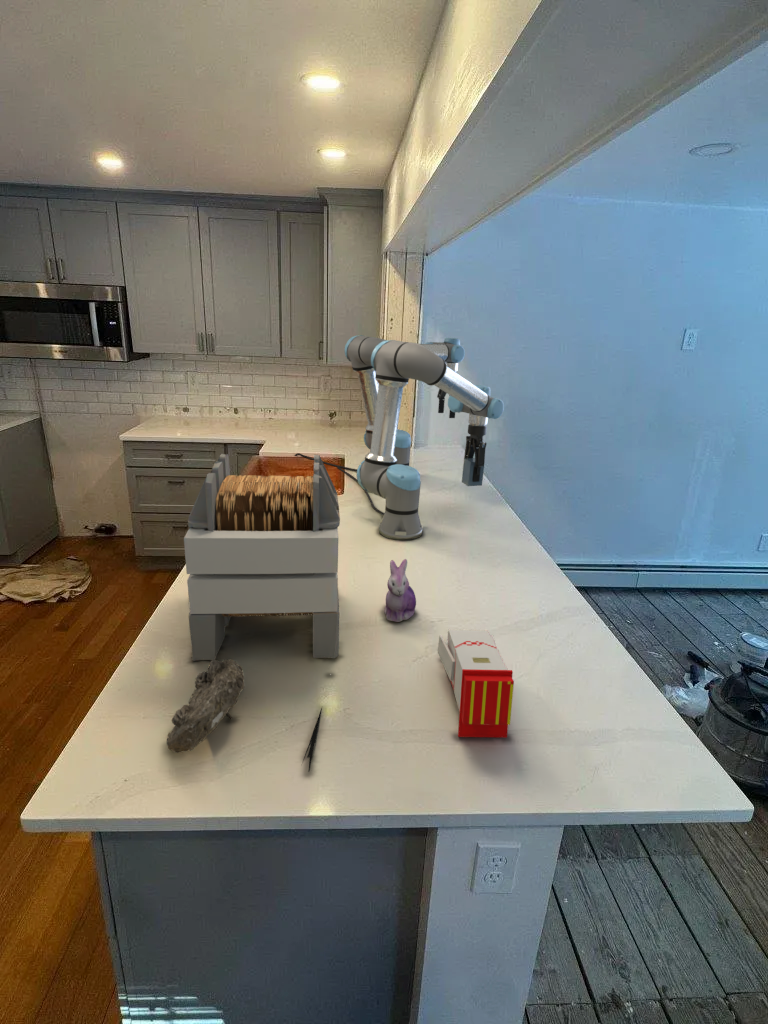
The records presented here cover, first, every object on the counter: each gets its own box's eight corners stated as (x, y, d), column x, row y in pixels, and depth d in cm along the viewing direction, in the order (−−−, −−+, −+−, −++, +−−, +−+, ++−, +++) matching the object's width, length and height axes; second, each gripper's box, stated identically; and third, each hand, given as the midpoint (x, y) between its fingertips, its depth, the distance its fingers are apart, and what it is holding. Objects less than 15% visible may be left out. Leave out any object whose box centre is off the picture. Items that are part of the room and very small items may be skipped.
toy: (488, 613, 130) (523, 677, 101) (484, 667, 133) (517, 744, 104) (435, 612, 130) (455, 676, 101) (432, 666, 133) (451, 743, 103)
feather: (331, 679, 122) (336, 673, 122) (307, 777, 96) (313, 769, 95) (324, 675, 122) (329, 669, 121) (298, 772, 95) (304, 764, 95)
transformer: (215, 589, 155) (206, 444, 141) (335, 588, 159) (337, 446, 145) (189, 663, 124) (173, 484, 110) (339, 659, 127) (342, 486, 113)
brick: (482, 485, 237) (484, 461, 234) (467, 486, 235) (470, 462, 232) (475, 481, 242) (477, 457, 239) (461, 482, 240) (463, 458, 237)
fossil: (192, 660, 117) (244, 628, 112) (224, 691, 120) (276, 661, 115) (142, 746, 98) (202, 712, 93) (182, 779, 101) (242, 748, 96)
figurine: (392, 627, 141) (395, 572, 136) (374, 608, 149) (376, 556, 144) (425, 619, 145) (429, 566, 140) (405, 601, 154) (408, 550, 149)
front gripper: (497, 429, 223) (490, 485, 231) (475, 420, 240) (469, 472, 248) (480, 429, 221) (474, 486, 228) (459, 420, 238) (454, 473, 245)
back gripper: (468, 374, 263) (464, 420, 270) (446, 368, 285) (443, 410, 292) (453, 374, 261) (449, 420, 268) (432, 368, 283) (429, 411, 290)
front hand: (472, 479), depth 238 cm, fingers closed on brick, 6 cm apart
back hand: (446, 415), depth 280 cm, fingers open, 13 cm apart
